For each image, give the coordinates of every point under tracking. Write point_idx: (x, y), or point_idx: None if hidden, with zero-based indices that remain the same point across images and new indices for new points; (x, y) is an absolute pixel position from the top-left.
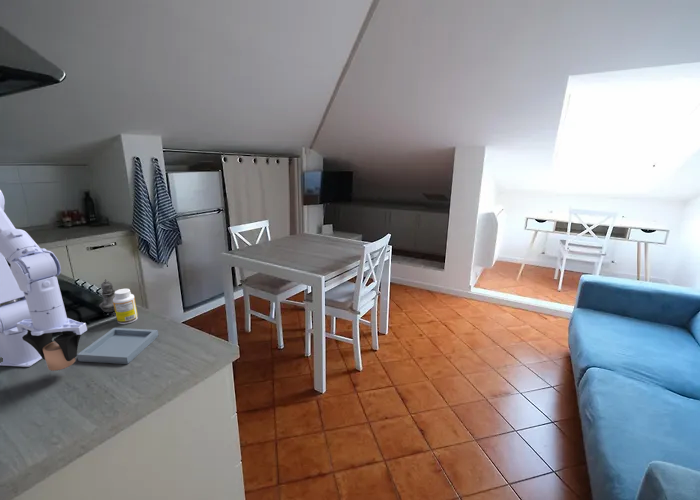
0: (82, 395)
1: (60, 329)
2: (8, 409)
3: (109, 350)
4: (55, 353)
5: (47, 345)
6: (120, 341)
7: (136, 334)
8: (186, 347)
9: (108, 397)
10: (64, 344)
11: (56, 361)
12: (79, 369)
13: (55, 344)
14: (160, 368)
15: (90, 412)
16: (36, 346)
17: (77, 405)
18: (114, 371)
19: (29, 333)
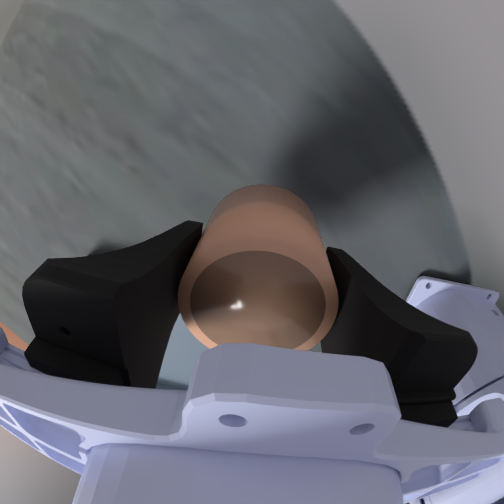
0: (120, 91)
1: (18, 393)
2: (353, 34)
3: (188, 331)
4: (224, 234)
5: (324, 316)
6: (187, 367)
7: (162, 385)
8: (16, 306)
9: (44, 93)
10: (89, 258)
11: (237, 205)
12: None
13: (275, 321)
14: (5, 227)
15: (59, 29)
16: (375, 295)
17: (108, 45)
18: (100, 221)
19: (440, 392)
